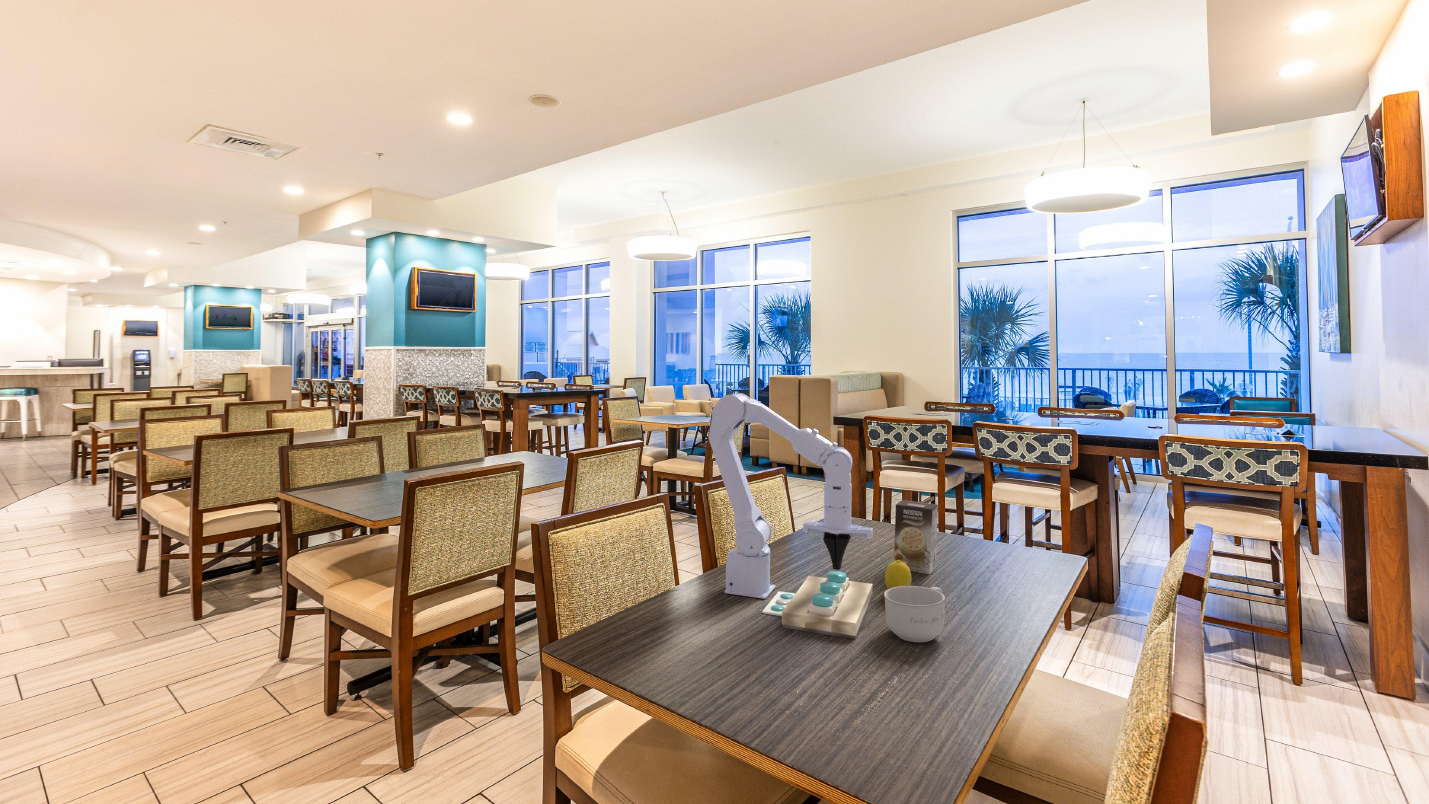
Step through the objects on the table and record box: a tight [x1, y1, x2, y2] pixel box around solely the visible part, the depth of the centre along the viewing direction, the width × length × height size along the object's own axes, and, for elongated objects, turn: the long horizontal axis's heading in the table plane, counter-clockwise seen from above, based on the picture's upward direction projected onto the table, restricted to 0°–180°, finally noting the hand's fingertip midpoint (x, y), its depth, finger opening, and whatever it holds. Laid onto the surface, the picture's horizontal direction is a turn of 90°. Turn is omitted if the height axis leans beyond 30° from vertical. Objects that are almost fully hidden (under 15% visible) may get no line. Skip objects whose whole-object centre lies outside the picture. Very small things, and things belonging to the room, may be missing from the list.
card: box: [762, 591, 796, 617], centre depth 132 cm, size 5×12×1 cm, turn 158°
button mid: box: [817, 582, 843, 603], centre depth 128 cm, size 4×4×3 cm
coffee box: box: [893, 499, 939, 575], centre depth 155 cm, size 9×6×16 cm
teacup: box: [883, 585, 946, 643], centre depth 118 cm, size 14×11×8 cm
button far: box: [824, 570, 850, 591], centre depth 135 cm, size 4×4×3 cm
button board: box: [781, 575, 874, 640], centre depth 128 cm, size 14×22×3 cm, turn 158°
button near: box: [809, 593, 836, 616], centre depth 122 cm, size 4×4×3 cm
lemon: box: [884, 560, 912, 590], centre depth 137 cm, size 6×6×8 cm
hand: (837, 568), depth 134 cm, fingers closed
